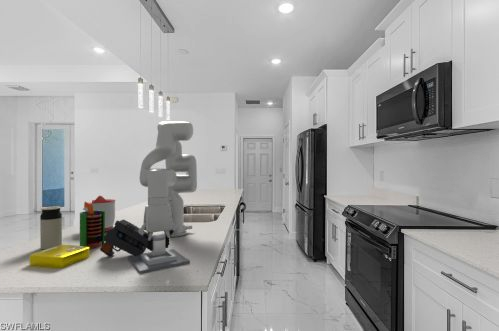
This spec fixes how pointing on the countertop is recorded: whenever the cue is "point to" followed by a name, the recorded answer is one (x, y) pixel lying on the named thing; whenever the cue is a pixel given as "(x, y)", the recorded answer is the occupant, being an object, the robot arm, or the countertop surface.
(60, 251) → the element tile
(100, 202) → the citrus juicer
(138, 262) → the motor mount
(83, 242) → the motor
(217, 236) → the countertop surface
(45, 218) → the travel mug
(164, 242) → the white domed cylinder
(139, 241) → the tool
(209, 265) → the countertop surface
